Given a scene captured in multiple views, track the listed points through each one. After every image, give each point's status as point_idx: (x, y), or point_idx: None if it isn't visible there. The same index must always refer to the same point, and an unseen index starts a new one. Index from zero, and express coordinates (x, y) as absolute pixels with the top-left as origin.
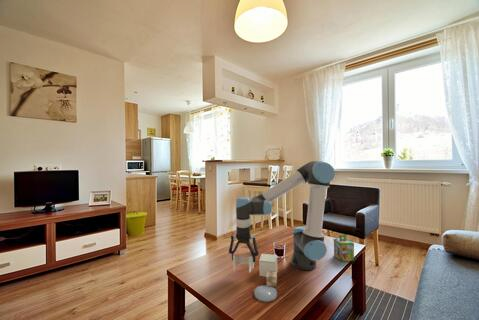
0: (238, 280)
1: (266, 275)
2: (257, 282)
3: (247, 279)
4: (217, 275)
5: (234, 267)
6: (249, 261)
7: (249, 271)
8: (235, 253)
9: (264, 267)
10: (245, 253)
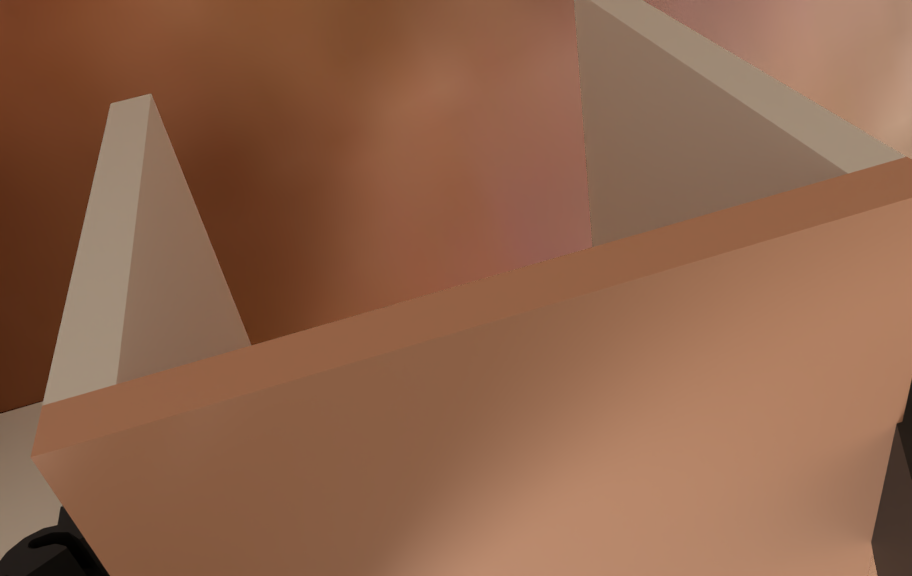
0: (455, 67)
1: (33, 417)
2: (78, 176)
3: (312, 174)
4: (866, 36)
5: (614, 10)
6: (103, 272)
7: (132, 106)
8: (856, 294)
9: (48, 518)
10: (408, 518)
